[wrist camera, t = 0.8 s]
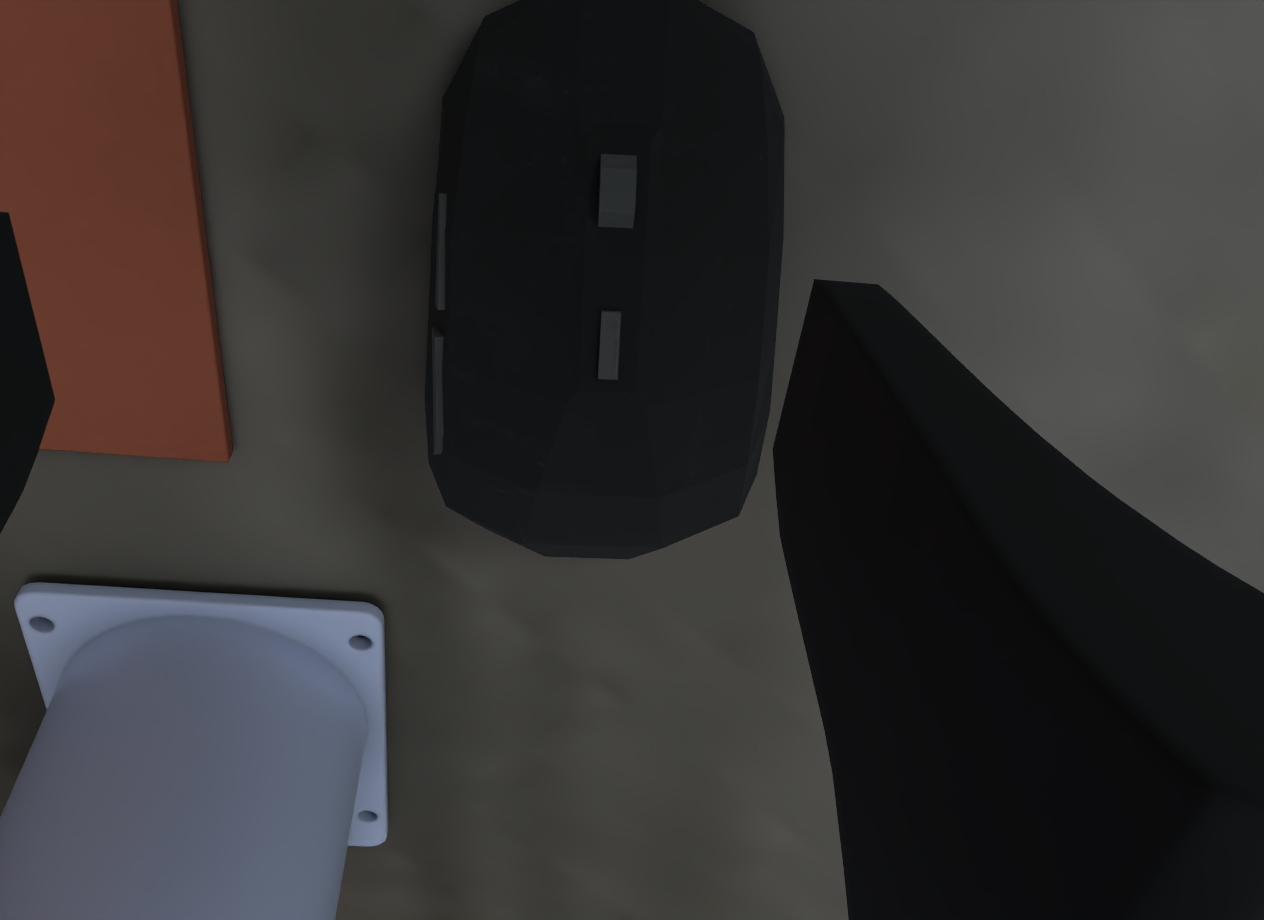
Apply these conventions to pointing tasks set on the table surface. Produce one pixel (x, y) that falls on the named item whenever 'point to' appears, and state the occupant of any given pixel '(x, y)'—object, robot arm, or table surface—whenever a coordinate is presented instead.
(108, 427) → the mouse mat
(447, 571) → the table surface
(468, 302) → the gaming mouse
